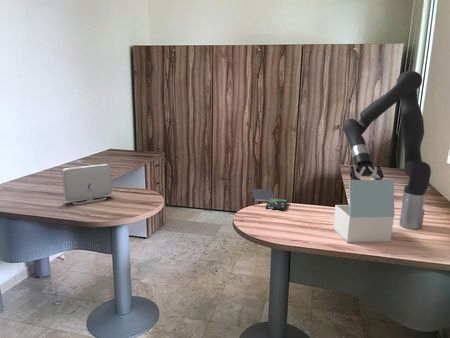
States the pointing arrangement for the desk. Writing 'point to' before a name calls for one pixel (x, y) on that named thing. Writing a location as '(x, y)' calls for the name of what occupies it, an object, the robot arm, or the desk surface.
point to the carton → (361, 227)
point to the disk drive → (276, 204)
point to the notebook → (262, 194)
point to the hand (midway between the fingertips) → (370, 187)
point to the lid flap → (371, 198)
